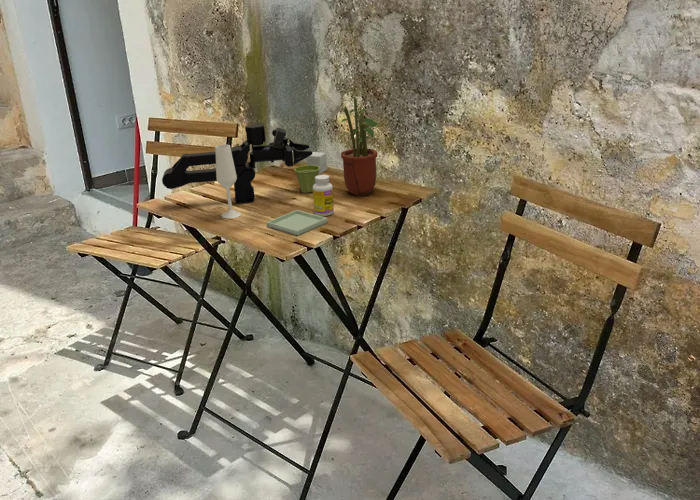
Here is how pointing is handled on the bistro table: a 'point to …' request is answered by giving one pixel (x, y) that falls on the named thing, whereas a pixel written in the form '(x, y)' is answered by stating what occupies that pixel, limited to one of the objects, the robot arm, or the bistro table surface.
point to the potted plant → (359, 156)
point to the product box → (318, 161)
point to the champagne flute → (226, 175)
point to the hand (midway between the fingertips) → (310, 149)
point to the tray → (297, 222)
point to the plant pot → (307, 177)
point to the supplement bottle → (323, 196)
